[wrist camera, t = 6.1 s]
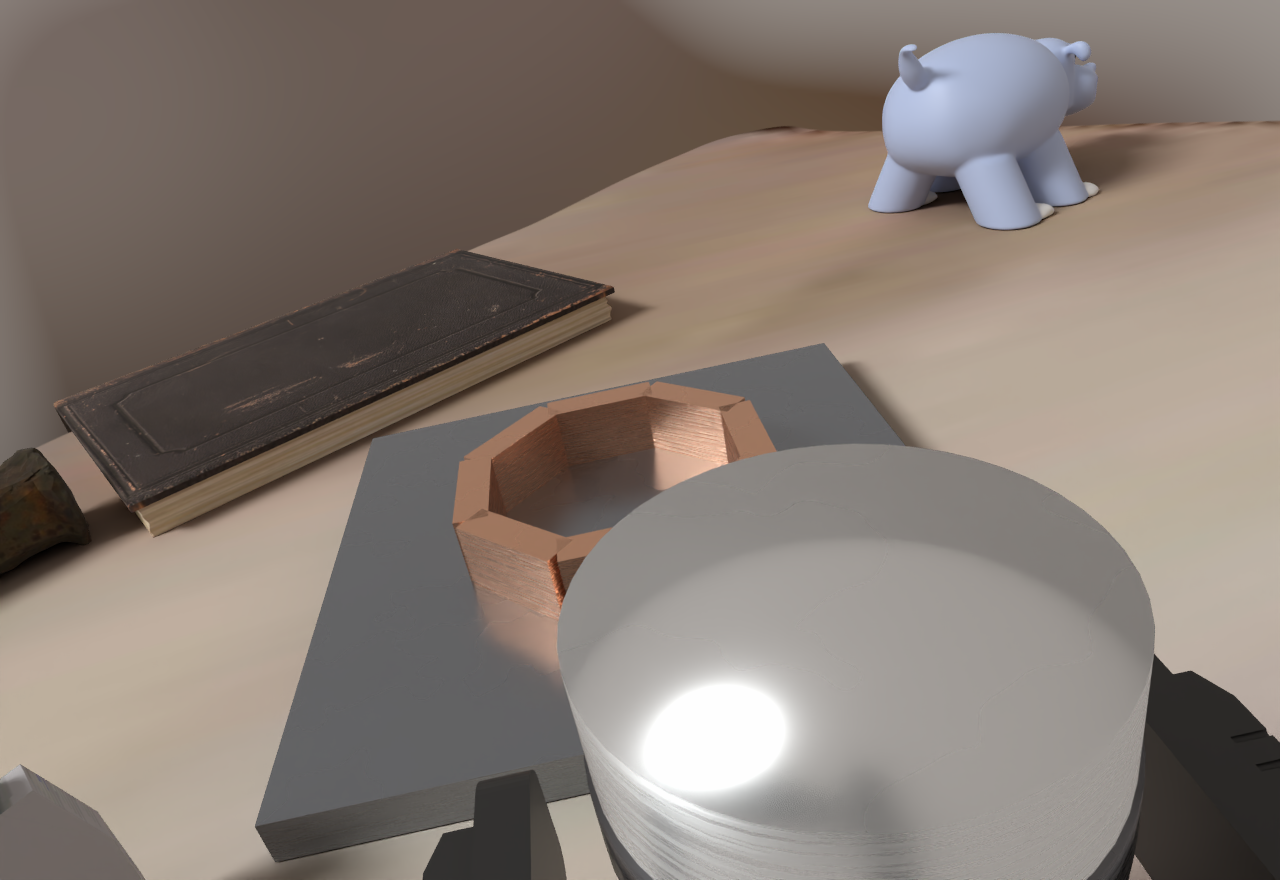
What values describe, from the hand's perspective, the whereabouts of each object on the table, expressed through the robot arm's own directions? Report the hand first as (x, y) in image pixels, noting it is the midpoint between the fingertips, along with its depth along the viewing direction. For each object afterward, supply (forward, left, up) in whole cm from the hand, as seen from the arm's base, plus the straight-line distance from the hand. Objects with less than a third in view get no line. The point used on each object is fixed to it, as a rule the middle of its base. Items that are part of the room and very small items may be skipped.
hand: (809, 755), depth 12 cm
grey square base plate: (-2, +15, -6) cm, 16 cm away
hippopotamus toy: (+22, +42, -7) cm, 48 cm away
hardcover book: (-14, +35, -7) cm, 38 cm away
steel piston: (0, -2, -6) cm, 7 cm away
